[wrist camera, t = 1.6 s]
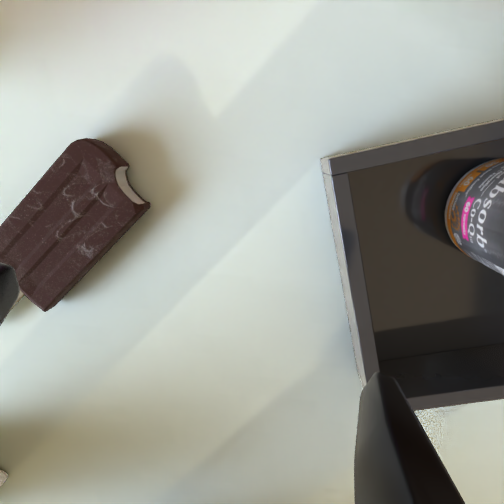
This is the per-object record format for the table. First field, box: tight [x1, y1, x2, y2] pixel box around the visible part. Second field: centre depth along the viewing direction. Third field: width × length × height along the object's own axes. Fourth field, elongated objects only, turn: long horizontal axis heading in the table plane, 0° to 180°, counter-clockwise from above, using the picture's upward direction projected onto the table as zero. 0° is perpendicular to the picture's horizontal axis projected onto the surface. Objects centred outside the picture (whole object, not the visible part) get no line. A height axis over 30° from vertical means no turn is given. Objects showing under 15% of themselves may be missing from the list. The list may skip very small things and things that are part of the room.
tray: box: [320, 118, 504, 411], centre depth 20 cm, size 14×14×4 cm
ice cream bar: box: [0, 138, 150, 312], centre depth 23 cm, size 5×2×15 cm
